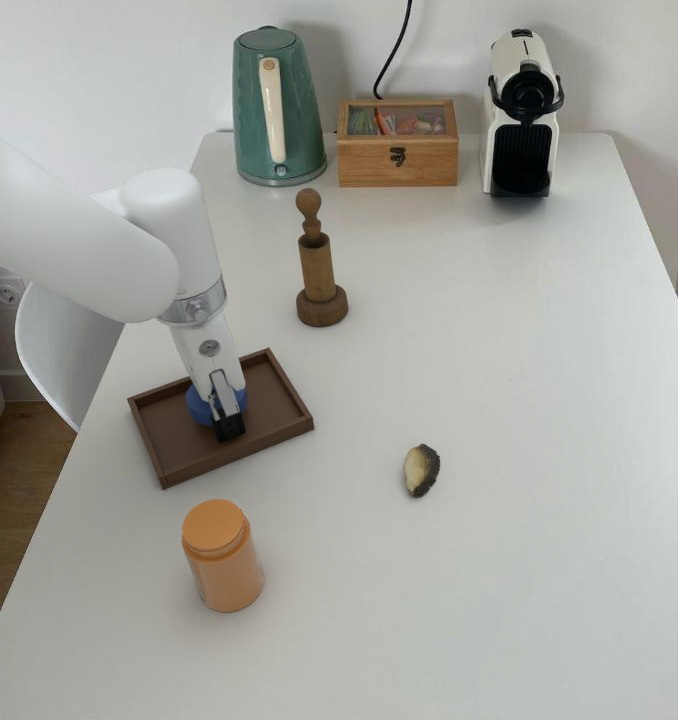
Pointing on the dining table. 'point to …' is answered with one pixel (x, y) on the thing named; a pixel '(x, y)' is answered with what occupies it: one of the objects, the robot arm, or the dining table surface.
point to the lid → (202, 409)
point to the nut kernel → (421, 469)
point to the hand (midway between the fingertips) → (220, 414)
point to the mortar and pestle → (317, 268)
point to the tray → (197, 441)
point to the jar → (222, 555)
